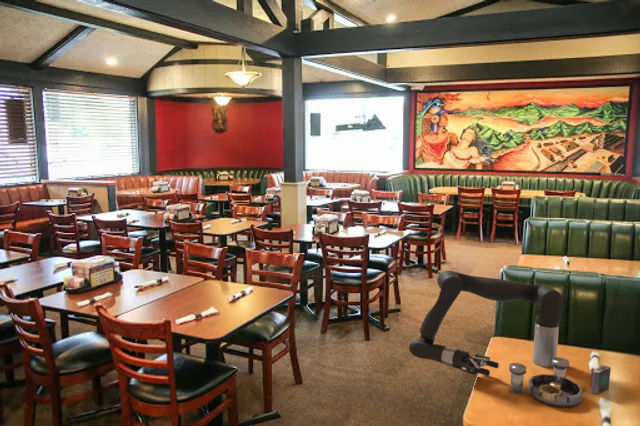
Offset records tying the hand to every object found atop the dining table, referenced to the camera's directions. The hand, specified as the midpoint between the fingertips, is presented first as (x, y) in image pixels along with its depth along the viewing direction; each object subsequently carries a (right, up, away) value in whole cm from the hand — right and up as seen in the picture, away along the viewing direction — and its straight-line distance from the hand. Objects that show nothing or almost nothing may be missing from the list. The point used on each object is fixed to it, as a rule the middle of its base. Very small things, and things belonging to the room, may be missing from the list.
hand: (493, 369), depth 198 cm
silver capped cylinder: (+7, -7, -5) cm, 11 cm away
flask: (+39, -7, -5) cm, 40 cm away
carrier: (+20, -7, -8) cm, 23 cm away
